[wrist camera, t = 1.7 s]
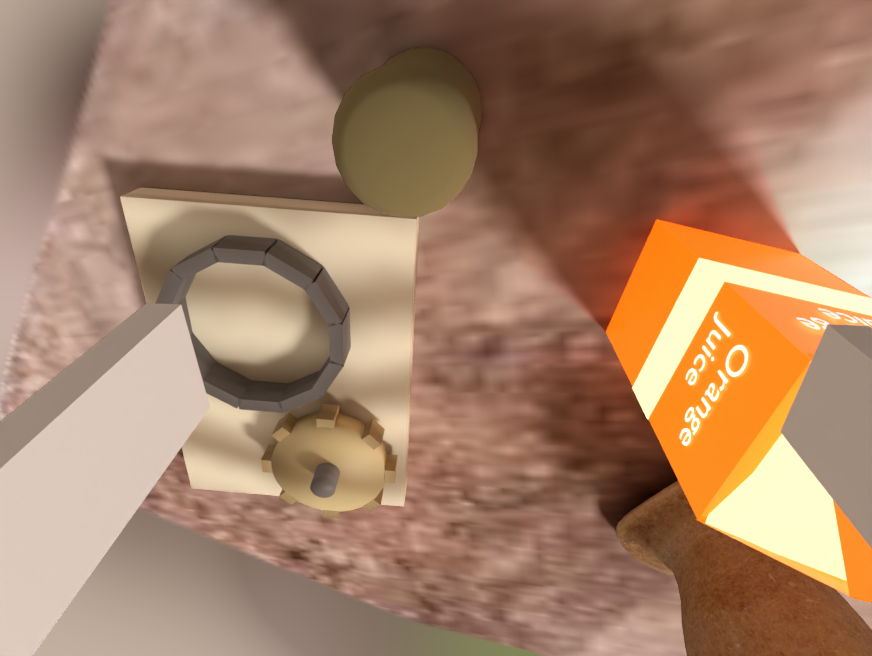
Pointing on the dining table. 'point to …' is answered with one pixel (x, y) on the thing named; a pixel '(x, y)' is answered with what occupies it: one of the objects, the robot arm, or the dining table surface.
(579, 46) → the dining table surface
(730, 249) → the orange juice
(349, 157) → the cork
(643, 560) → the brown hollow flared piece
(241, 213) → the gear board
